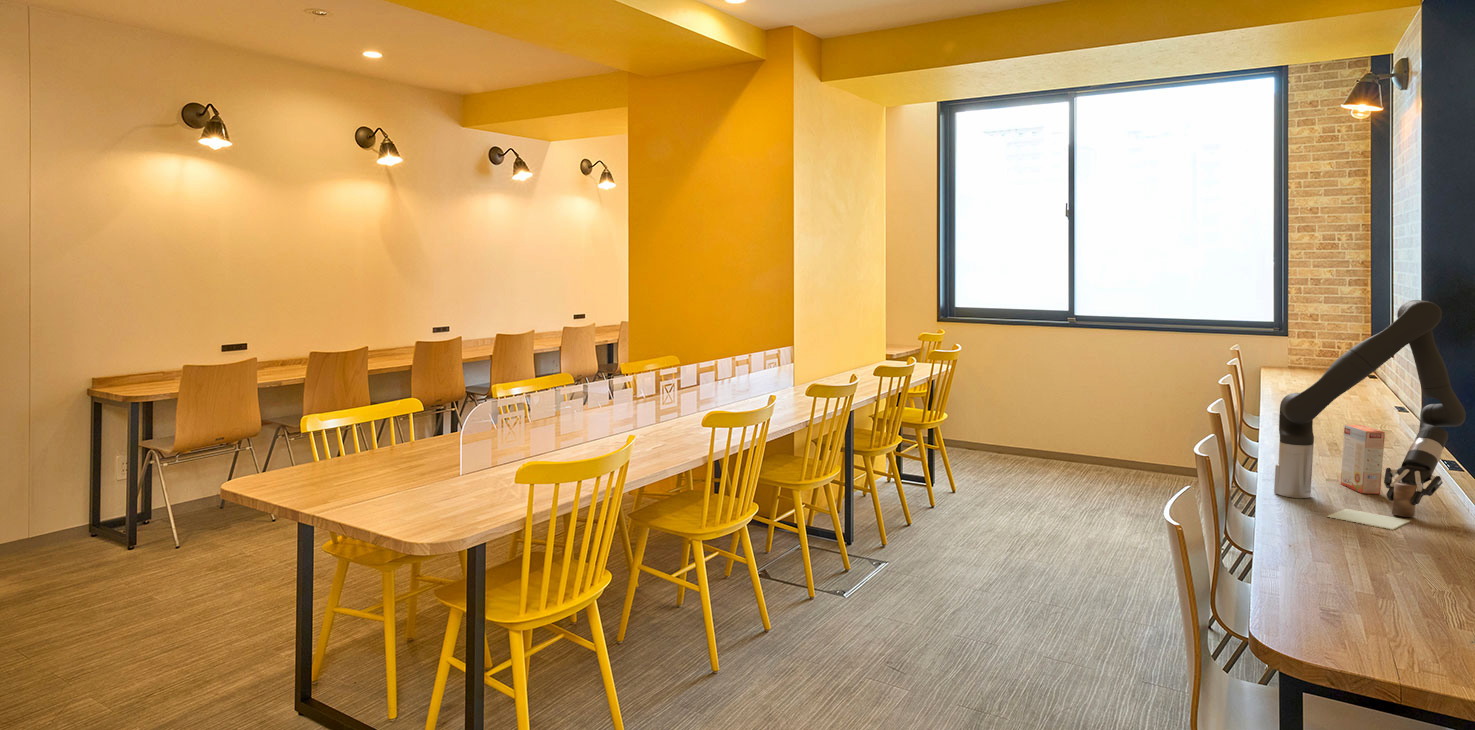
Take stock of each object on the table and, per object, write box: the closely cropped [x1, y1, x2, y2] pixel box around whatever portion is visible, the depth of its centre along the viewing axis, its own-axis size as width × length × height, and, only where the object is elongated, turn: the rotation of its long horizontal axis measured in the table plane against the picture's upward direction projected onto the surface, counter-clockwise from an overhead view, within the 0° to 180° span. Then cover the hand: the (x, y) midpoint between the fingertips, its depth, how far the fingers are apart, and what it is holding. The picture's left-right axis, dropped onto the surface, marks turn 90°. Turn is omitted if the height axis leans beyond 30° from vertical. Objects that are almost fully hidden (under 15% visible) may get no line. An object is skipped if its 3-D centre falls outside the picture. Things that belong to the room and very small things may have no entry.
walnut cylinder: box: [1391, 482, 1417, 518], centre depth 250 cm, size 5×5×9 cm
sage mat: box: [1326, 508, 1411, 531], centre depth 247 cm, size 16×14×1 cm
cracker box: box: [1340, 424, 1386, 495], centre depth 281 cm, size 14×6×21 cm, turn 168°
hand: (1401, 501), depth 249 cm, fingers closed on walnut cylinder, 5 cm apart
